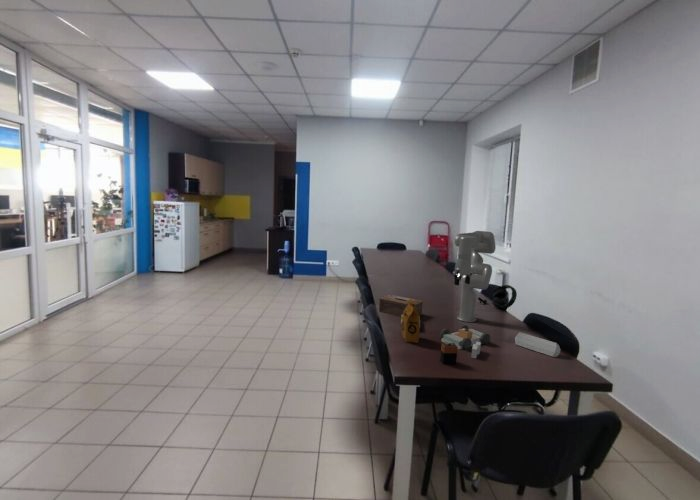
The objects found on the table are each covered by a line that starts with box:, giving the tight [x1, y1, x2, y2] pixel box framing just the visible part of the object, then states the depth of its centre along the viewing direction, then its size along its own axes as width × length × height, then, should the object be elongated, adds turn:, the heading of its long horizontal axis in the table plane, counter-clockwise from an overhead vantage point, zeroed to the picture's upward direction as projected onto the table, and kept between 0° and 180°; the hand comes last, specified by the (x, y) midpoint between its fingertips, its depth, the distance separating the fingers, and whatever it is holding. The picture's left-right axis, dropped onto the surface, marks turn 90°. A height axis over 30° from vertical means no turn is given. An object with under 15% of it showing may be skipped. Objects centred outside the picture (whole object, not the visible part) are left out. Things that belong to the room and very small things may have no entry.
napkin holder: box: [471, 342, 482, 359], centre depth 196 cm, size 15×11×6 cm
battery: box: [439, 342, 458, 365], centre depth 184 cm, size 4×7×10 cm, turn 98°
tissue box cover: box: [378, 294, 423, 318], centre depth 261 cm, size 26×14×10 cm, turn 57°
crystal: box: [514, 332, 561, 358], centre depth 206 cm, size 7×7×24 cm
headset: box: [477, 284, 518, 310], centre depth 286 cm, size 18×14×29 cm
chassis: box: [439, 324, 491, 351], centre depth 213 cm, size 24×17×6 cm
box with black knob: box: [458, 328, 473, 339], centre depth 213 cm, size 6×4×6 cm
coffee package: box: [401, 298, 421, 344], centre depth 212 cm, size 10×12×22 cm
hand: (461, 284), depth 231 cm, fingers open, 9 cm apart
